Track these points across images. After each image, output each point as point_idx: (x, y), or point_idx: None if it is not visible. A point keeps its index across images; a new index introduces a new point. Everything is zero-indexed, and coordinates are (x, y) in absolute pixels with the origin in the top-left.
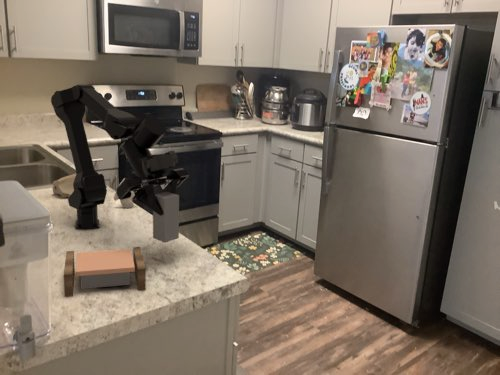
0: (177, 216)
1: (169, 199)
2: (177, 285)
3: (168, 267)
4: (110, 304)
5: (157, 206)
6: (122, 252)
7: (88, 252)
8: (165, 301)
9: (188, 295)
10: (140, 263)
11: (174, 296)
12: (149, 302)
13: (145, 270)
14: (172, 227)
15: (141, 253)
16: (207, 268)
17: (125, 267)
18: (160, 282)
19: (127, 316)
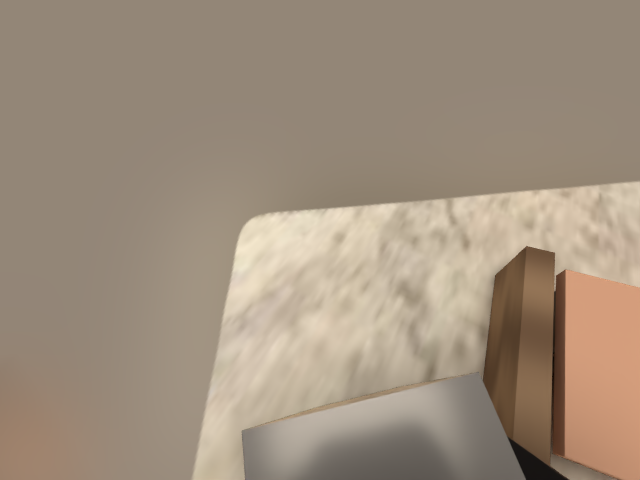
0: (308, 410)
1: (403, 390)
2: (403, 257)
3: (380, 374)
4: (603, 248)
5: (520, 446)
6: (614, 435)
7: None
8: (460, 207)
9: (399, 207)
10: (539, 287)
11: (432, 216)
12: (499, 218)
13: (523, 249)
14: (354, 398)
15: (519, 374)
16: (278, 305)
17: (602, 283)
18: (441, 293)
19: (561, 190)
